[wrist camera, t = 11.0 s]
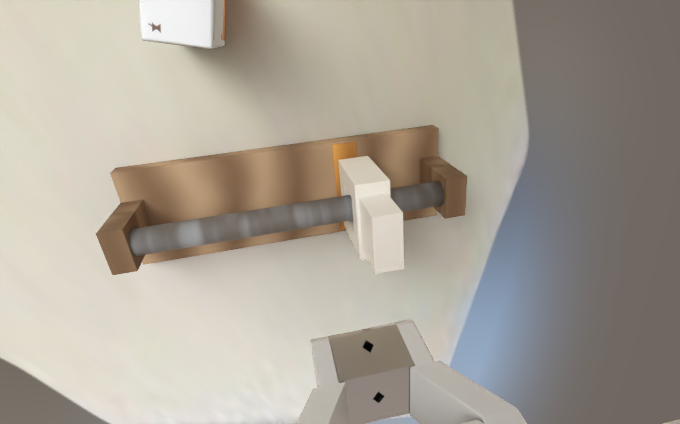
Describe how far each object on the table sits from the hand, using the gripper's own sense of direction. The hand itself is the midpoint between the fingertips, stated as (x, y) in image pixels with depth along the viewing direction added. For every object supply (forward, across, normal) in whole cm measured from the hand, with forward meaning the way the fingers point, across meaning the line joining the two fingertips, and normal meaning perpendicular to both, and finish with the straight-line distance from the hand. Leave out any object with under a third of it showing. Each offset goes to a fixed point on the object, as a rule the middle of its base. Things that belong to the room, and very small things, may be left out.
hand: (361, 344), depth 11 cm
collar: (+27, -6, +8) cm, 29 cm away
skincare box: (+31, +6, -10) cm, 33 cm away
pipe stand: (+30, +1, +8) cm, 32 cm away
